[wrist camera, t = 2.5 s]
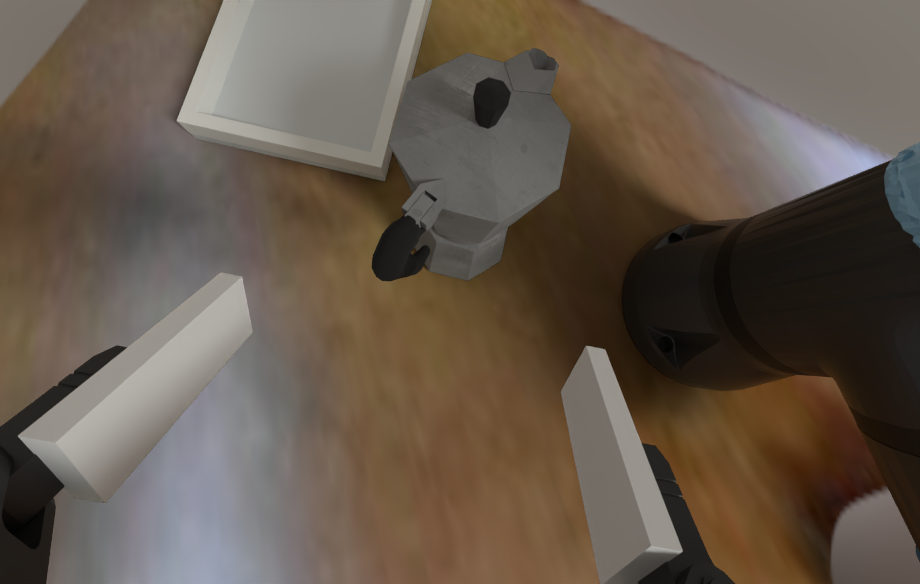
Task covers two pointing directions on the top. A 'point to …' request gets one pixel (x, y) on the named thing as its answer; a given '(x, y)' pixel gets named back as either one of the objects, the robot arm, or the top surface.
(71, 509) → the top surface
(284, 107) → the docking tray
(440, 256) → the coffeepot
